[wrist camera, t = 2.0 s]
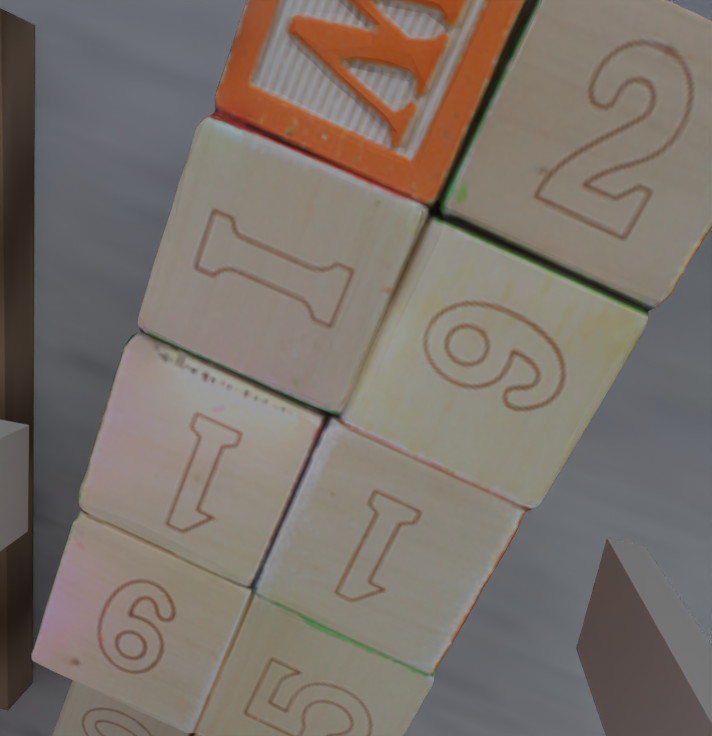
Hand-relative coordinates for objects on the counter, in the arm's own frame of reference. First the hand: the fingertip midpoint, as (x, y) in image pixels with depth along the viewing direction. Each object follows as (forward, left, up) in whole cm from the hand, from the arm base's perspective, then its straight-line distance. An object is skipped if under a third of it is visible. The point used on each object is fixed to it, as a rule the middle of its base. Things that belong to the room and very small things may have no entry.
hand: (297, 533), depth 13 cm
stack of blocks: (0, 0, -8) cm, 8 cm away
